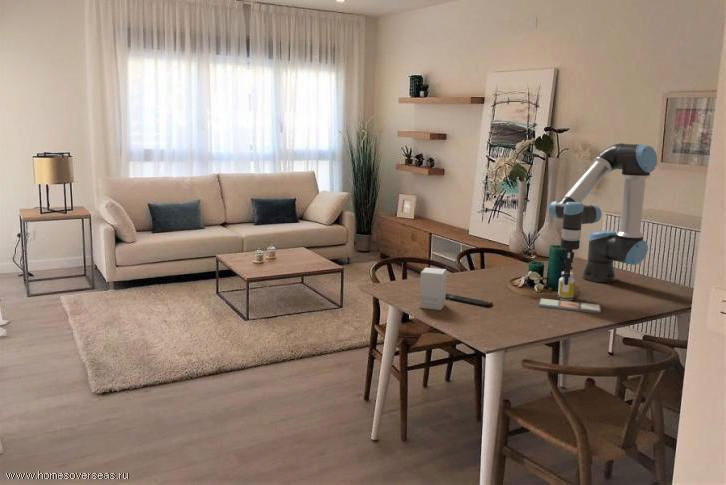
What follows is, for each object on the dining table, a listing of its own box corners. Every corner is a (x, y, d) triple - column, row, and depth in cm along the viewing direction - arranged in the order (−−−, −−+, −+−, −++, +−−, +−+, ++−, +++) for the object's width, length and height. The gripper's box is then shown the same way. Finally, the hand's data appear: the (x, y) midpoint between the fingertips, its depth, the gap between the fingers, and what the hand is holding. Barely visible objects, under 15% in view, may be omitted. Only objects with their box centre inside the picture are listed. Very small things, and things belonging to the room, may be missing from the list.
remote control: (441, 295, 276) (441, 292, 276) (493, 306, 263) (494, 302, 263) (435, 298, 272) (436, 295, 272) (488, 309, 259) (488, 305, 259)
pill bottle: (574, 301, 270) (576, 275, 267) (558, 300, 271) (560, 274, 268) (572, 297, 276) (574, 271, 273) (556, 296, 277) (559, 270, 275)
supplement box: (445, 304, 262) (447, 269, 259) (441, 310, 254) (442, 274, 251) (424, 301, 265) (425, 266, 262) (418, 307, 257) (420, 271, 254)
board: (540, 300, 271) (540, 297, 271) (600, 306, 263) (600, 304, 263) (538, 306, 262) (538, 304, 261) (600, 313, 254) (601, 311, 254)
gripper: (562, 233, 281) (557, 280, 285) (560, 243, 258) (555, 294, 262) (580, 234, 278) (575, 282, 282) (579, 245, 255) (574, 296, 259)
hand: (565, 288), depth 272 cm, fingers open, 13 cm apart
